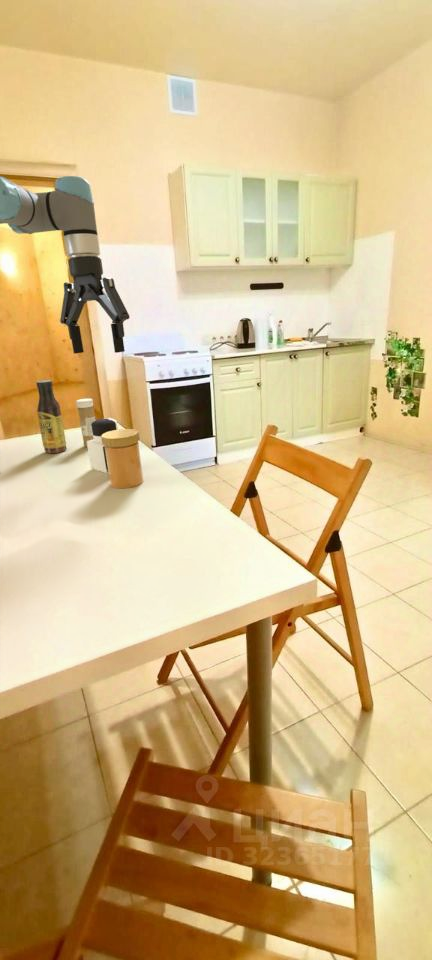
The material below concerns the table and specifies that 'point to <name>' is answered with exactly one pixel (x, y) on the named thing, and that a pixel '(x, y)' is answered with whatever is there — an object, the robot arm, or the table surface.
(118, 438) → the lid
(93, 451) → the medicine bottle
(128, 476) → the jar
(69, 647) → the table surface
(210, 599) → the table surface
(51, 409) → the sauce bottle
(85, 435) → the sprinkles bottle
